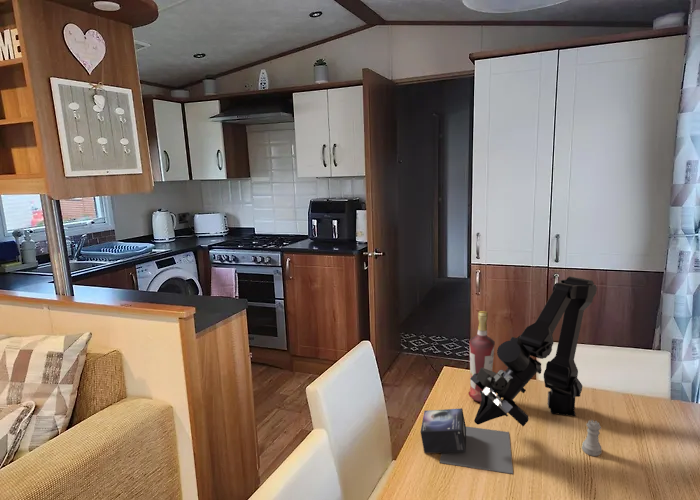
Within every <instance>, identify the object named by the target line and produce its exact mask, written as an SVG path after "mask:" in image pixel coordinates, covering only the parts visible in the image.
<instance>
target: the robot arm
mask: <svg viewBox="0 0 700 500" xmlns="http://www.w3.org/2000/svg"><path fill="white" fill-rule="evenodd" d="M597 289H598V288H597V285H596V284H594V280H592V279H587V278H581V277H575V276H570V275H569V276H568V277H566V279H559V280H558V282H556V283H554V285H553V288H552V293H551V294H550V296H549V297H548V300H547V302H546V303H545V305H544V306H543V309H542V310H541V312H540V314H539V315H538V317H537V318H536V320H535V322H534V323H532V324H530V325H528V326H526V327H525V329H524V330H523V332H522V333H521V334H520V335H519V336H518V337H515V336H511V337H510V340H506V341H504V342H502V343H501V344H500V345H499V346H498V347H497V350H496V354H497V355H496V356H497V357H498V359H499V360H500V361H501V362H502V363H503V364H504V365H505V366H506V367H507V368H506V370H504V369H499V370H498V372H495V371H493V370H492V371H490V370H487V369H484V368H481V369H480V371H479V373H476V374H474V375H473V376H472V377H471V378H470V377H469V380H470V379H471V380H472V381H473V382H474V383H475V384H476V385H478V386H479V387H480V388H481V389H482V390H483V391H481V390H480V393H481V399H482V400H481V402H480V403H479V408H478V410H477V412H476V415H475V418H474V420H473V421H474V423H475V424H476V425H482V424H483V423H486V422H488V421H491V420H493V419H497V418H501V417H503V416H505V417H509V415H510V416H511V417H512V418H513V419H514V420H515V421H516V422H517V423H518V424H519V425H521V426H522V427H524V426H525V425H527V423H528V422H529V414H527V413H526V412H525V411H524V410H523V409H522V408H520V406H519V405H517V404H516V402H515V401H514V399H515V398H516V396H517V395H519V394H520V392H521V393H523V394H524V393H526V392H527V390H526V389H525V388H524V387H525V386H526V385H527V384H528V383H529V382H530V381H531V379H533V377H534V376H535V375H536V374H542V363H541V362H540V361H539V360H537V359H540V360H541V359H542V360H543V359H546V358H548V357H549V356H550V355H551V353H552V351H553V346H554V343H555V342H554V338H553V334H554V332H555V330H556V328H557V326H558V324H559V322H560V321H561V319H562V321H561V322H562V323H561V326H560V327H561V328H560V332H559V337H558V342H557V346H556V353H555V356H554V357H553V358H552V359H550V360H549V361H547V362H546V363H545V364H546V365H545V370H544V372H543V381H544V386H545V388H546V389H550V390H549V391H548V392H547V404H546V405H547V407H548V409H549V411H550V414H552V415H561V416H571V417H575V416H576V412H575V408H576V407H575V406H576V398H580V397H581V393H582V391H583V384H582V382H581V381H580V379H579V378H578V375H579V369H578V367H577V364H576V362H575V357H576V351H577V346H578V342H579V336H580V332H581V328H582V327H581V326H582V321H583V318H584V312H585V311H586V309H587V308H588V307H589V306H590V305H591V304H592V303H593V300H594V298H595V296H596V294H597ZM562 317H563V318H562ZM536 358H537V359H536Z"/></svg>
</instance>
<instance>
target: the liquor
mask: <svg viewBox="0 0 700 500" xmlns="http://www.w3.org/2000/svg"><path fill="white" fill-rule="evenodd" d="M477 314H478V315H477V319H478V327H477V333H476V335H474V336H472V337H471V338H470V339H469V341H468V342H469V381H470V383H469V385H470V387H469V392H468V395H469V397H470V398H471V399H472V400H473V401H475V402H477V403H481V400H482V399H481V393H480V390H481V391H483V390H482V389H481V388H480V387H479V386H478V385H476V384H475V383H474V382H473V381H472V380H471V379H470V378H471V377H472V376H473V375H474V374H476V373H479V371H480V369H481V368H484V369H487V370H490V371H493V365H494V364H493V363H494V355H495V340H494V339H493V338H491V337H490V336H488V327H487V322H488V317H489V316H488V314H489V313H488V311H486V310H480V311H478V313H477Z"/></svg>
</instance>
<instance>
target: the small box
mask: <svg viewBox="0 0 700 500" xmlns="http://www.w3.org/2000/svg"><path fill="white" fill-rule="evenodd" d="M422 416H423V417H422V423H421V428H420V437H421V442H422V448H423V452H424V454H427V453H428V454H432V453H441V452H466V427H467V426H466V421H465V420H466V419H465V415H464V410H463V408H460V407H459V408H449V409H448V408H446V409H431V410H430V409H429V410H424V411H423V415H422Z"/></svg>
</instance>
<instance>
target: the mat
mask: <svg viewBox="0 0 700 500" xmlns="http://www.w3.org/2000/svg"><path fill="white" fill-rule="evenodd" d="M510 438H511V437H510V432H509V431H503V430H497V429H487V428H482V427H481V428H480V427H472V426H466V452H440V456H439V457H440V458H439V464H444V465H449V466H450V465H452V466H458V467H464V468H468V469H469V468H470V469H478V470H483V471H488V472H489V471H490V472H495V473H496V472H498V473H501V474H502V473H503V474H509V475H514V470H513V469H514V468H513V459H512V450H511V440H510Z"/></svg>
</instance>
